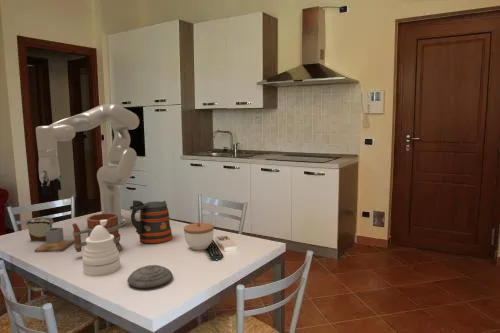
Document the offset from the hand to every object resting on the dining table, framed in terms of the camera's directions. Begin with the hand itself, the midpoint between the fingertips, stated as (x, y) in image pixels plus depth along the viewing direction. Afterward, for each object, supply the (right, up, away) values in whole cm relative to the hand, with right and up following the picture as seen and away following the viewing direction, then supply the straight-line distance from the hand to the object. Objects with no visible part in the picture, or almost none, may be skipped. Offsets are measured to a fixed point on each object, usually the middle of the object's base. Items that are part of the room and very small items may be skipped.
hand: (52, 192), depth 170 cm
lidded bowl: (+66, -23, -6) cm, 70 cm away
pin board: (+2, -24, -1) cm, 24 cm away
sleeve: (+2, -23, -1) cm, 23 cm away
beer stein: (+43, -23, +5) cm, 49 cm away
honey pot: (+32, -27, -27) cm, 50 cm away
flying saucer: (+54, -28, -38) cm, 72 cm away
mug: (+24, -25, -9) cm, 36 cm away
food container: (-9, -23, +10) cm, 26 cm away
